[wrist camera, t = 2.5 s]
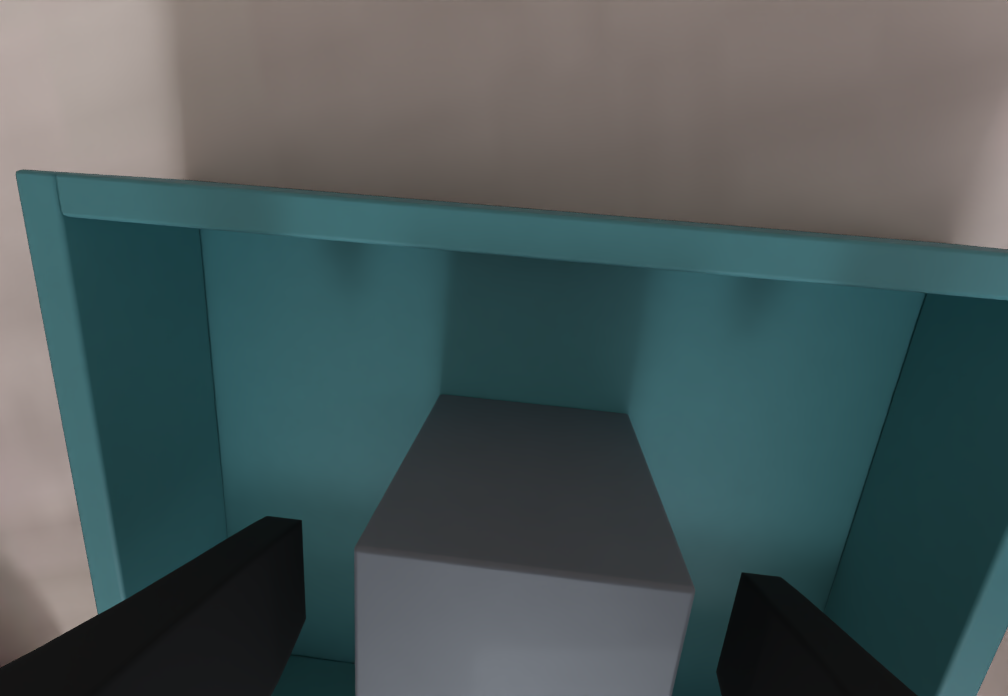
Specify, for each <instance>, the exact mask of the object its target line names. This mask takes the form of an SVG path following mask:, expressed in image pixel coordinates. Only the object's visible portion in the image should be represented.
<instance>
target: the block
mask: <svg viewBox="0 0 1008 696" xmlns="http://www.w3.org/2000/svg"><path fill="white" fill-rule="evenodd" d="M354 595H355V696H672V692H673V687H674V683H675V678H676V674H677V670H678V665H679V661H680V657H681V652H682V648H683V643H684V639H685V635H686V630H687V626H688V622H689V617H690V613H691V608H692V604H693V600H694V595H695V588H694V585H693V582H692V580H691V577H690V574H689V572H688V569H687V567H686V564H685V561H684V559H683V556H682V553H681V551H680V548H679V546H678V543H677V540H676V538H675V535H674V533H673V530H672V527H671V525H670V522H669V520H668V517H667V514H666V512H665V509H664V507H663V504H662V501H661V499H660V496H659V494H658V491H657V488H656V486H655V483H654V481H653V478H652V475H651V473H650V470H649V467H648V465H647V462H646V460H645V457H644V454H643V452H642V449H641V447H640V444H639V441H638V439H637V436H636V434H635V431H634V428H633V426H632V423H631V421H630V418H629V415H628V414H624V413H615V412H605V411H596V410H586V409H577V408H567V407H558V406H548V405H539V404H529V403H520V402H510V401H501V400H492V399H482V398H473V397H463V396H454V395H444V394H442V395H439V397H438V399H437V401H436V403H435V404H434V406H433V408H432V410H431V412H430V413H429V415H428V417H427V419H426V420H425V422H424V424H423V426H422V428H421V429H420V431H419V433H418V435H417V437H416V438H415V440H414V442H413V444H412V446H411V447H410V449H409V451H408V453H407V454H406V456H405V458H404V460H403V462H402V463H401V465H400V467H399V469H398V471H397V472H396V474H395V476H394V478H393V480H392V481H391V483H390V485H389V487H388V489H387V490H386V492H385V494H384V496H383V497H382V499H381V501H380V503H379V505H378V506H377V508H376V510H375V512H374V514H373V515H372V517H371V519H370V521H369V523H368V524H367V526H366V528H365V530H364V531H363V533H362V535H361V537H360V539H359V540H358V542H357V544H356V546H355V548H354Z"/></svg>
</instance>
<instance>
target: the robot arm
mask: <svg viewBox="0 0 1008 696" xmlns="http://www.w3.org/2000/svg"><path fill="white" fill-rule="evenodd" d="M305 620H306V606H305V582H304V558H303V534H302V520H298V519H290V518H281V517H273V516H265V517H264V518H262V519H260V520H258V521H256V522H254V523H253V524H251V525H249V526H247V527H246V528H244V529H242V530H241V531H239V532H237V533H235V534H234V535H232V536H230V537H229V538H227V539H225V540H224V541H222V542H221V543H219V544H217V545H216V546H214V547H212V548H211V549H209V550H207V551H206V552H204V553H202V554H201V555H199V556H197V557H196V558H194V559H193V560H191V561H189V562H188V563H186V564H184V565H183V566H181V567H179V568H178V569H176V570H174V571H173V572H171V573H169V574H167V575H166V576H164V577H162V578H161V579H159V580H157V581H156V582H154V583H152V584H151V585H149V586H147V587H146V588H144V589H142V590H141V591H139V592H137V593H136V594H134V595H132V596H131V597H129V598H127V599H125V600H124V601H122V602H120V603H118V604H116V605H115V606H113V607H111V608H109V609H107V610H106V611H104V612H102V613H100V614H98V615H97V616H95V617H93V618H91V619H89V620H88V621H86V622H84V623H82V624H81V625H79V626H77V627H75V628H73V629H72V630H70V631H68V632H66V633H64V634H63V635H61V636H59V637H57V638H55V639H54V640H52V641H50V642H48V643H46V644H45V645H43V646H41V647H39V648H37V649H36V650H34V651H32V652H30V653H28V654H26V655H24V656H22V657H20V658H19V659H17V660H15V661H13V662H11V663H9V664H7V665H5V666H3V667H1V668H0V696H271V694H272V693H273V691H274V689H275V687H276V685H277V684H278V681H279V679H280V677H281V675H282V673H283V670H284V668H285V666H286V664H287V662H288V659H289V657H290V655H291V653H292V650H293V648H294V646H295V643H296V641H297V639H298V636H299V634H300V632H301V629H302V627H303V625H304V622H305ZM716 674H717V678H718V683H719V687H720V691H721V695H722V696H918V695H916V694H915V693H914V692H913V691H912V690H911V689H909V688H908V687H907V686H906V685H905V684H904V683H903V682H901V681H900V680H899V679H898V678H897V677H896V676H894V675H893V674H892V673H891V672H890V671H889V670H888V669H886V668H885V667H884V666H883V665H882V664H881V663H880V662H879V661H877V660H876V659H875V658H874V657H873V656H872V655H871V654H869V653H868V652H867V651H866V650H865V649H864V648H863V647H862V646H860V645H859V644H858V643H857V642H856V641H855V640H854V639H853V638H851V637H850V636H849V635H848V634H847V633H846V632H845V631H844V630H842V629H841V628H840V627H839V626H838V625H837V624H836V623H834V622H833V621H832V620H831V619H830V618H829V617H828V616H827V615H825V614H824V613H823V612H822V611H821V610H820V609H819V608H817V607H816V606H815V605H814V604H813V603H812V602H811V601H809V600H808V599H807V598H806V597H805V596H804V595H802V594H801V593H800V592H799V591H798V590H797V589H795V588H794V587H793V586H792V585H790V584H789V583H788V582H787V581H786V580H784V579H783V578H782V577H778V576H769V575H761V574H753V573H744V572H742V573H741V577H740V581H739V585H738V588H737V592H736V596H735V600H734V604H733V608H732V612H731V616H730V619H729V623H728V627H727V631H726V635H725V639H724V643H723V647H722V651H721V654H720V658H719V662H718V666H717V670H716Z"/></svg>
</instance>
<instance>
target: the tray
mask: <svg viewBox="0 0 1008 696" xmlns="http://www.w3.org/2000/svg"><path fill="white" fill-rule="evenodd" d="M16 179H17V185H18V190H19V195H20V201H21V206H22V211H23V217H24V222H25V227H26V233H27V238H28V243H29V249H30V254H31V259H32V265H33V270H34V275H35V281H36V286H37V291H38V297H39V302H40V308H41V313H42V318H43V324H44V329H45V334H46V340H47V345H48V350H49V356H50V361H51V366H52V372H53V377H54V382H55V388H56V393H57V398H58V404H59V409H60V414H61V420H62V425H63V430H64V436H65V441H66V446H67V452H68V457H69V462H70V468H71V473H72V478H73V484H74V489H75V495H76V500H77V505H78V511H79V516H80V521H81V527H82V532H83V537H84V543H85V548H86V553H87V559H88V564H89V569H90V575H91V580H92V585H93V591H94V596H95V601H96V607H97V612H98V614H100V613H102V612H104V611H106V610H107V609H109V608H111V607H113V606H115V605H116V604H118V603H120V602H122V601H124V600H125V599H127V598H129V597H131V596H132V595H134V594H136V593H137V592H139V591H141V590H142V589H144V588H146V587H147V586H149V585H151V584H152V583H154V582H156V581H157V580H159V579H161V578H162V577H164V576H166V575H167V574H169V573H171V572H173V571H174V570H176V569H178V568H179V567H181V566H183V565H184V564H186V563H188V562H189V561H191V560H193V559H194V558H196V557H197V556H199V555H201V554H202V553H204V552H206V551H207V550H209V549H211V548H212V547H214V546H216V545H217V544H219V543H221V542H222V541H224V540H225V539H227V538H229V537H230V536H232V535H234V534H235V533H237V532H239V531H241V530H242V529H244V528H246V527H247V526H249V525H251V524H253V523H254V522H256V521H258V520H260V519H262V518H264V517H265V516H273V517H281V518H290V519H298V520H302V534H303V558H304V582H305V606H306V620H305V622H304V625H303V627H302V629H301V632H300V634H299V636H298V639H297V641H296V643H295V646H294V648H293V650H292V653H291V655H290V657H289V659H288V662H287V664H286V666H285V668H284V670H283V673H282V675H281V677H280V679H279V681H278V684H277V685H276V687H275V689H274V691H273V693H272V694H271V696H355V595H354V548H355V546H356V544H357V542H358V540H359V539H360V537H361V535H362V533H363V531H364V530H365V528H366V526H367V524H368V523H369V521H370V519H371V517H372V515H373V514H374V512H375V510H376V508H377V506H378V505H379V503H380V501H381V499H382V497H383V496H384V494H385V492H386V490H387V489H388V487H389V485H390V483H391V481H392V480H393V478H394V476H395V474H396V472H397V471H398V469H399V467H400V465H401V463H402V462H403V460H404V458H405V456H406V454H407V453H408V451H409V449H410V447H411V446H412V444H413V442H414V440H415V438H416V437H417V435H418V433H419V431H420V429H421V428H422V426H423V424H424V422H425V420H426V419H427V417H428V415H429V413H430V412H431V410H432V408H433V406H434V404H435V403H436V401H437V399H438V397H439V395H442V394H444V395H454V396H463V397H473V398H482V399H492V400H501V401H510V402H520V403H529V404H539V405H548V406H558V407H567V408H577V409H586V410H596V411H605V412H615V413H624V414H628V415H629V418H630V421H631V423H632V426H633V428H634V431H635V434H636V436H637V439H638V441H639V444H640V447H641V449H642V452H643V454H644V457H645V460H646V462H647V465H648V467H649V470H650V473H651V475H652V478H653V481H654V483H655V486H656V488H657V491H658V494H659V496H660V499H661V501H662V504H663V507H664V509H665V512H666V514H667V517H668V520H669V522H670V525H671V527H672V530H673V533H674V535H675V538H676V540H677V543H678V546H679V548H680V551H681V553H682V556H683V559H684V561H685V564H686V567H687V569H688V572H689V574H690V577H691V580H692V582H693V585H694V588H695V595H694V600H693V604H692V608H691V613H690V617H689V622H688V626H687V630H686V635H685V639H684V643H683V648H682V652H681V657H680V661H679V665H678V670H677V674H676V678H675V683H674V687H673V692H672V696H722V695H721V691H720V687H719V683H718V678H717V674H716V670H717V666H718V662H719V658H720V654H721V651H722V647H723V643H724V639H725V635H726V631H727V627H728V623H729V619H730V616H731V612H732V608H733V604H734V600H735V596H736V592H737V588H738V585H739V581H740V577H741V573H742V572H744V573H753V574H761V575H769V576H778V577H782V578H783V579H784V580H786V581H787V582H788V583H789V584H790V585H792V586H793V587H794V588H795V589H797V590H798V591H799V592H800V593H801V594H802V595H804V596H805V597H806V598H807V599H808V600H809V601H811V602H812V603H813V604H814V605H815V606H816V607H817V608H819V609H820V610H821V611H822V612H823V613H824V614H825V615H827V616H828V617H829V618H830V619H831V620H832V621H833V622H834V623H836V624H837V625H838V626H839V627H840V628H841V629H842V630H844V631H845V632H846V633H847V634H848V635H849V636H850V637H851V638H853V639H854V640H855V641H856V642H857V643H858V644H859V645H860V646H862V647H863V648H864V649H865V650H866V651H867V652H868V653H869V654H871V655H872V656H873V657H874V658H875V659H876V660H877V661H879V662H880V663H881V664H882V665H883V666H884V667H885V668H886V669H888V670H889V671H890V672H891V673H892V674H893V675H894V676H896V677H897V678H898V679H899V680H900V681H901V682H903V683H904V684H905V685H906V686H907V687H908V688H909V689H911V690H912V691H913V692H914V693H915V694H916V695H918V696H976V695H977V693H978V691H979V689H980V686H981V684H982V682H983V680H984V678H985V675H986V673H987V671H988V669H989V667H990V664H991V662H992V660H993V658H994V656H995V653H996V651H997V649H998V647H999V645H1000V643H1001V640H1002V638H1003V636H1004V634H1005V632H1006V629H1007V627H1008V249H998V248H988V247H978V246H968V245H958V244H947V243H935V242H923V241H911V240H899V239H887V238H875V237H863V236H851V235H839V234H827V233H815V232H804V231H792V230H780V229H768V228H756V227H744V226H732V225H720V224H708V223H696V222H684V221H672V220H660V219H648V218H636V217H624V216H612V215H600V214H588V213H576V212H564V211H552V210H540V209H528V208H516V207H504V206H492V205H480V204H468V203H456V202H444V201H432V200H420V199H408V198H396V197H384V196H372V195H360V194H348V193H336V192H324V191H312V190H300V189H288V188H276V187H264V186H252V185H240V184H228V183H216V182H204V181H192V180H178V179H162V178H147V177H131V176H115V175H99V174H84V173H68V172H52V171H37V170H19V171H16Z"/></svg>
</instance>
